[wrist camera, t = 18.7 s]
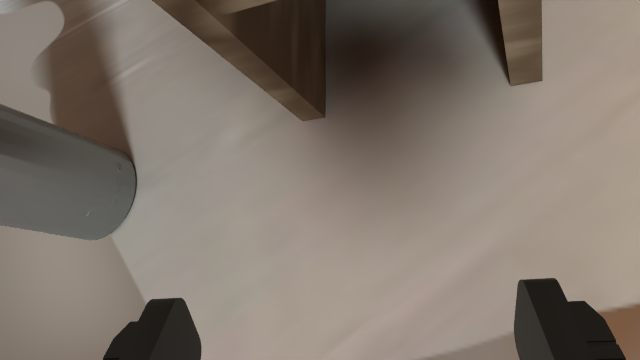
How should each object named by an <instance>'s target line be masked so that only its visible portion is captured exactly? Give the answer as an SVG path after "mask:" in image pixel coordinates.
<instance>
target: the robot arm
mask: <svg viewBox="0 0 640 360" xmlns="http://www.w3.org/2000/svg"><path fill="white" fill-rule="evenodd" d="M135 185H136V178H135V171H134V168H133V165H132V163H131V161H130V160H129V158H128V157H127V156H126V155H125V154H124V153H123V152H122V151H119V150H117V149H114V148H112V147H109V146H107V145H104V144H102V143H99V142H96V141H94V140H91V139H89V138H87V137H84V136H82V135H79V134H77V133H74V132H71V131H69V130H66V129H64V128H61V127H59V126H56V125H53V124H51V123H48V122H46V121H43V120H41V119H38V118H35V117H33V116H30V115H27V114H25V113H23V112H20V111H17V110H15V109H12V108H10V107H7V106H5V105H2V104H0V225H1V226H8V227H14V228H20V229H26V230H32V231H38V232H44V233H49V234H56V235H61V236H67V237H73V238H79V239H85V240H97V239H100V238H103V237H105V236H107V235H109V234H110V233H112V232H113V231H114V230H115V229H116V228H117V227H118V226H119V225H120V224H121V223H122V221H123V220H124V219H125V217H126V215H127V213H128V211H129V210H130V207H131V204H132V202H133V199H134V194H135ZM514 335H515V343H516V348H517V352H518V355H519V358H520V360H626V358H625V356H624V354H623V352H622V351H621V349H620V347H619V345H617V344H616V340H615V338H614V336H613V334H612V332H611V330H610V329H609V327H608V325H607V323H606V321H605V320H604V318H603V317H602V316H601V315H599V314H598V313H597V312H596V311H595V310H594V309H593V308H592V307H590V306H589V305H588V304H587V303H586V302H585V301H571V302H568V301H567V299H566V297H565V295H564V293H563V291H562V289H561V287H560V285H559V283H558V281H557V280H556V279H555V278H547V279H527V280H519V282H518V288H517V299H516V310H515V320H514ZM200 359H201V341H200V337H199V335H198V332H197V330H196V327H195V325H194V322H193V320H192V317H191V315H190V312H189V310H188V307H187V305H186V303H185V301H184V300H183V299H182V298H168V299H152V300H150V301H149V302H148V303H147V305H146V307H145V309H144V311H143V313H142V315H141V317H140V319H139V321H137V322H130V323H129V324H128V325H127V326H126V327H125V328H124V329H123V330H122V331H121V332H120V333H119V334H118V335H117V336H116V337H115V338H114V339H113V341H112V342H111V344H110V346H109V348H108V350H107V352H106V354H105V355H104V358H103V360H200Z"/></svg>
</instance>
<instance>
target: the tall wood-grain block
mask: <svg viewBox="0 0 640 360" xmlns="http://www.w3.org/2000/svg"><path fill="white" fill-rule="evenodd" d="M152 1H154V2H155V3H156V4H157V5H158V6H160V7H161V8H162V9H163V10H165V11H166V12H167V13H168V14H170V15H171V16H172V17H173V18H175V19H176V20H177V21H178V22H180V23H181V24H182V25H183V26H185V27H186V28H187V29H188V30H190V31H191V32H192V33H193V34H195V35H196V36H197V37H198V38H200V39H201V40H202V41H203V42H205V43H206V44H207V45H208V46H210V47H211V48H212V49H213V50H215V51H216V52H217V53H218V54H220V55H221V56H222V57H223V58H225V59H226V60H227V61H228V62H230V63H231V64H232V65H233V66H235V67H236V68H237V69H238V70H239V71H241V72H242V73H243V74H244V75H246V76H247V77H248V78H249V79H251V80H252V81H253V82H254V83H256V84H257V85H258V86H259V87H261V88H262V89H263V90H264V91H266V92H267V93H268V94H269V95H271V96H272V97H273V98H274V99H276V100H277V101H278V102H279V103H281V104H282V105H283V106H284V107H286V108H287V109H288V110H289V111H291V112H292V113H293V114H294V115H296V116H297V117H298V118H299V119H301V120H302V121H306V120H312V119H318V118H324V117H325V0H152ZM498 4H499V11H500V18H501V24H502V31H503V38H504V44H505V51H506V58H507V65H508V71H509V78H510V85H511V86H514V85H520V84H526V83H532V82H538V81H542V3H541V0H498Z"/></svg>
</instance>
